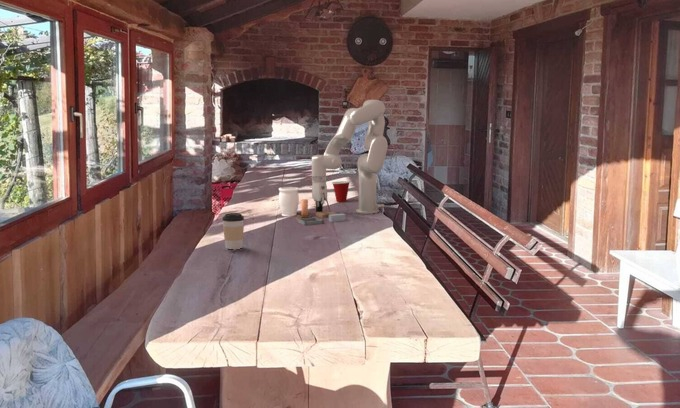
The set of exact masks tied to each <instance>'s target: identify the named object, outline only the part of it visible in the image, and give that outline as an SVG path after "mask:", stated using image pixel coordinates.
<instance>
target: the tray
mask: <svg viewBox="0 0 680 408" xmlns="http://www.w3.org/2000/svg"><path fill="white" fill-rule="evenodd" d="M296 221H297V223H299V224H301V225H303V226H310V225H321V224H324V223H325V222H324V220H323V219H322V218H320V217H317V216H314V217H313V218H303V219H297V220H296Z"/></svg>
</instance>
